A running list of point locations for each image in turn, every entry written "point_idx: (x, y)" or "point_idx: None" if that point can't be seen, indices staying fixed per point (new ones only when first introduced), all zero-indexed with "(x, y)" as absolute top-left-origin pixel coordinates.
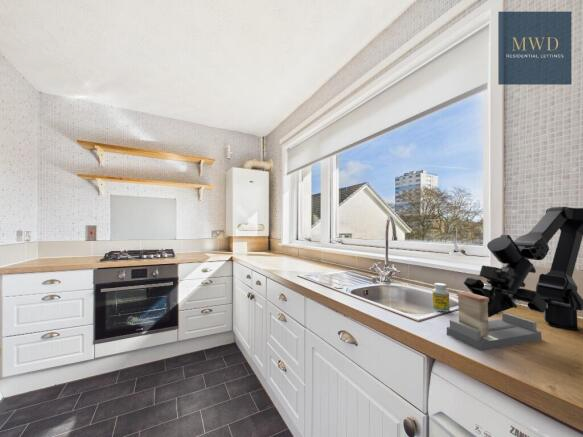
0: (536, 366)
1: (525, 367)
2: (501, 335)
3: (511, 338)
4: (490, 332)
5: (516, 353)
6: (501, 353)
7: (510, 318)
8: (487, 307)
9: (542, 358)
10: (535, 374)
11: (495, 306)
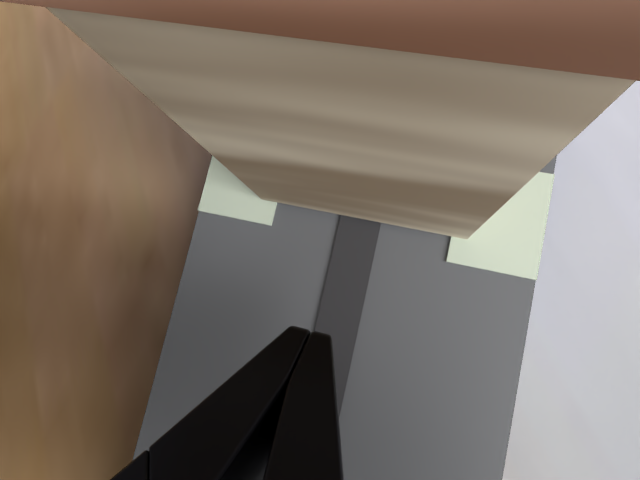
0: (28, 154)
1: (57, 90)
2: (219, 329)
3: (164, 357)
4: (296, 317)
5: (131, 233)
6: (181, 146)
7: None
8: (116, 65)
9: (27, 300)
10: (15, 59)
11: (147, 466)
